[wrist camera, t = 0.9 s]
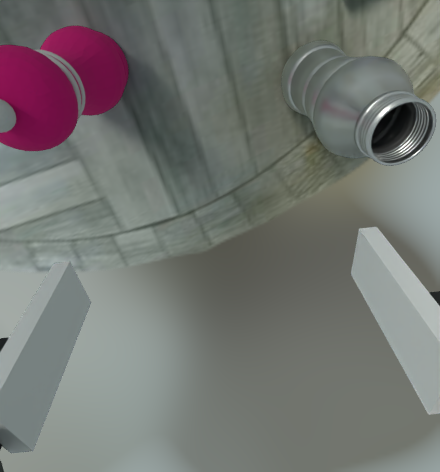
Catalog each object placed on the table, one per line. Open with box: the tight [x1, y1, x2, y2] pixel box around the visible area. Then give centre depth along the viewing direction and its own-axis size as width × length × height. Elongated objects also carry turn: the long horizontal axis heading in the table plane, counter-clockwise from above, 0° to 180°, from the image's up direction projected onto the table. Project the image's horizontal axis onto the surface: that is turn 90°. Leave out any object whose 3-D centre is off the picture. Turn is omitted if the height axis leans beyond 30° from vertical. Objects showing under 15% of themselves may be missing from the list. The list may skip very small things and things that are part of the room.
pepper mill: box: [0, 26, 129, 151], centre depth 24 cm, size 7×7×20 cm
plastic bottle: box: [281, 40, 436, 166], centre depth 25 cm, size 6×7×20 cm
